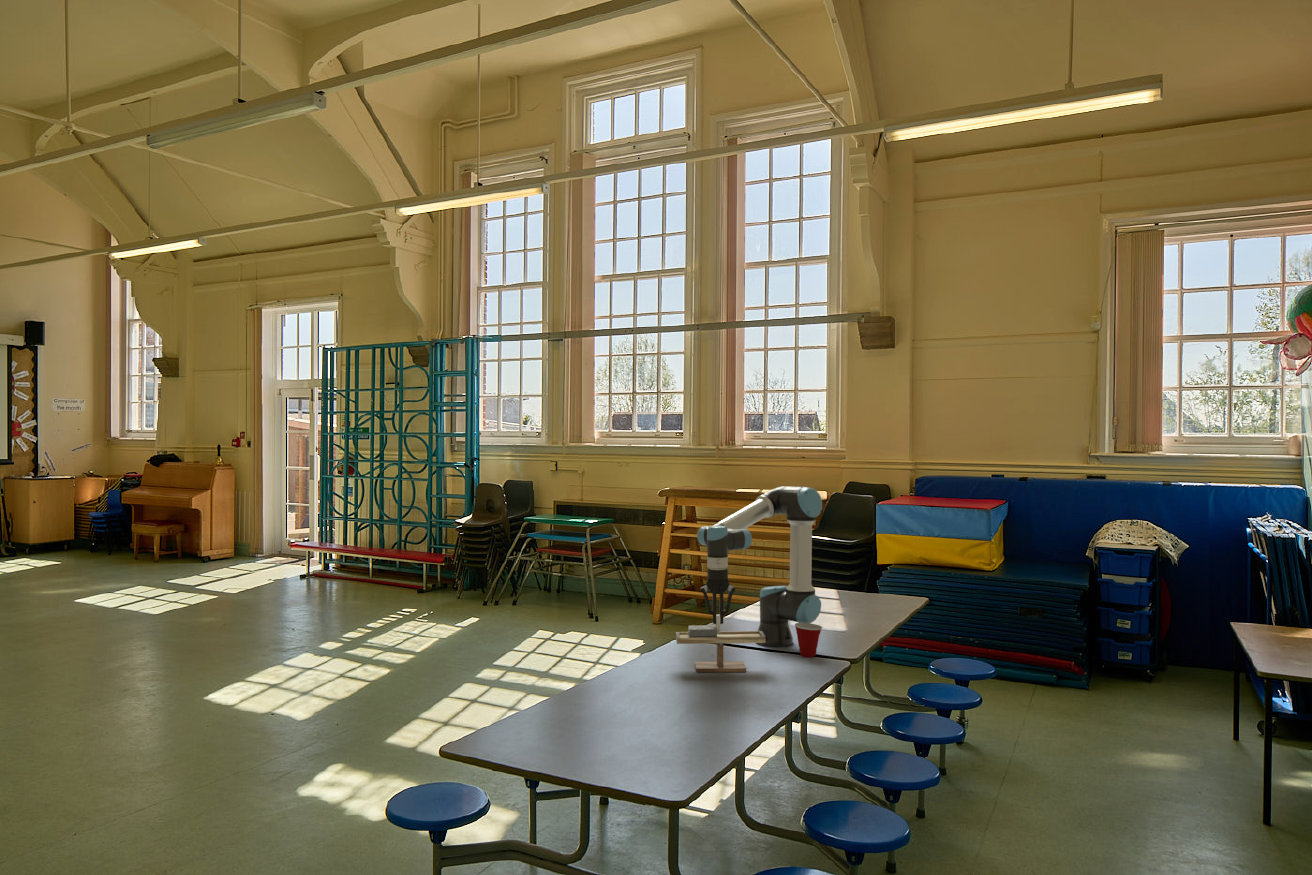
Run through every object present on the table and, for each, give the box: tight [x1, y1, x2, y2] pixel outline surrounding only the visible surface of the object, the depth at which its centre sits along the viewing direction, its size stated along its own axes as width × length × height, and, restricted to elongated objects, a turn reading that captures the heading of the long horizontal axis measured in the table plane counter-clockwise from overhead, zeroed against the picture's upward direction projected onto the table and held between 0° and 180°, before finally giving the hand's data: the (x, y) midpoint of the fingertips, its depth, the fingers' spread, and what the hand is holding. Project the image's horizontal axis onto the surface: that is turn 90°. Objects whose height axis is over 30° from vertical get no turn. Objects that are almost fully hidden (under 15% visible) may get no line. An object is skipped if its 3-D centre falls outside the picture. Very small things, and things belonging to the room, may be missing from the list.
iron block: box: [687, 624, 717, 637], centre depth 321 cm, size 7×10×4 cm
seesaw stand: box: [694, 643, 747, 673], centre depth 321 cm, size 10×18×9 cm, turn 91°
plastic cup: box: [794, 622, 824, 658], centre depth 340 cm, size 11×11×12 cm
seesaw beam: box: [675, 630, 765, 646], centre depth 321 cm, size 10×32×3 cm, turn 91°
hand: (718, 632), depth 321 cm, fingers closed
